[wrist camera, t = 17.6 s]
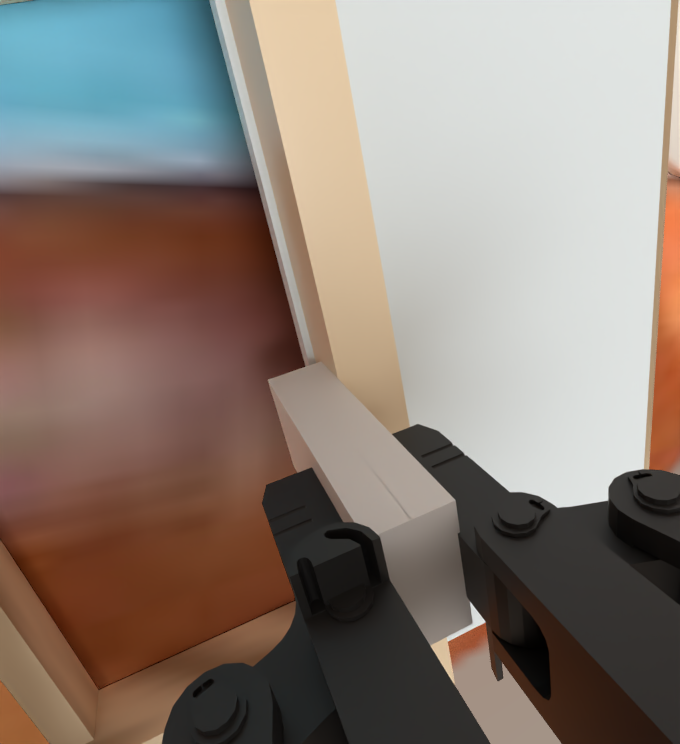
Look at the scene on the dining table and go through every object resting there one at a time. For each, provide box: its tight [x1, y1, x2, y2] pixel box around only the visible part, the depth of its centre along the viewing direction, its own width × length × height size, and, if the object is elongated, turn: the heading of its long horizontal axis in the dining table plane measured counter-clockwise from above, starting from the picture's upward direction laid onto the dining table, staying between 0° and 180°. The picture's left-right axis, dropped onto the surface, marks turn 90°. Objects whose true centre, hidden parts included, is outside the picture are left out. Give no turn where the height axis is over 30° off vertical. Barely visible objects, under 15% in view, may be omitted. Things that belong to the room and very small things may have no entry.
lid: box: [209, 0, 671, 685], centre depth 15 cm, size 12×24×3 cm, turn 13°
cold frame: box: [0, 0, 679, 744], centre depth 17 cm, size 26×24×3 cm
